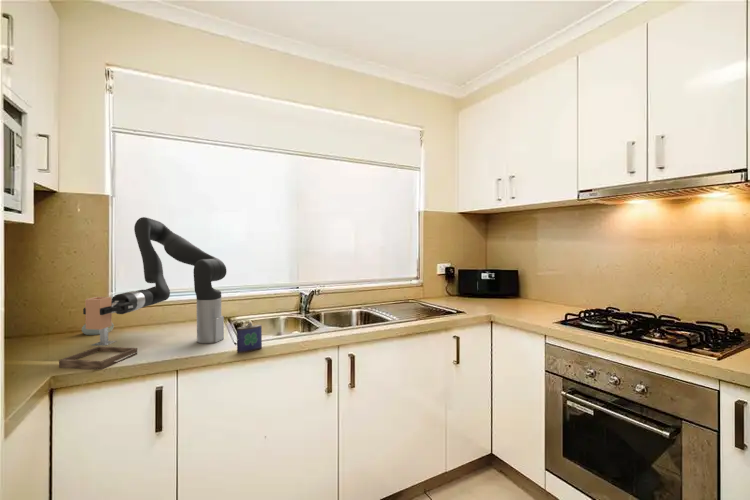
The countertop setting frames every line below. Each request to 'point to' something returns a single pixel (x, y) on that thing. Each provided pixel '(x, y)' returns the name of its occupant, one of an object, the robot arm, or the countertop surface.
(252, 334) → the flask
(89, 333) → the air freshener
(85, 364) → the tray
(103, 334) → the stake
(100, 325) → the collar
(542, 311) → the countertop surface
